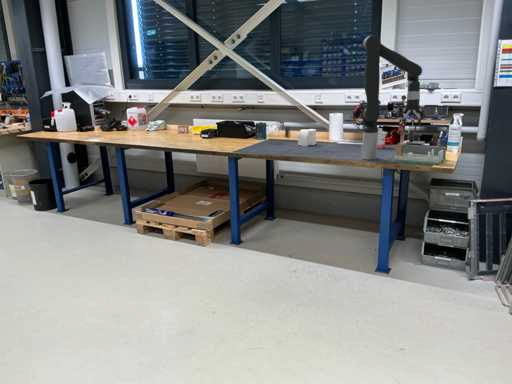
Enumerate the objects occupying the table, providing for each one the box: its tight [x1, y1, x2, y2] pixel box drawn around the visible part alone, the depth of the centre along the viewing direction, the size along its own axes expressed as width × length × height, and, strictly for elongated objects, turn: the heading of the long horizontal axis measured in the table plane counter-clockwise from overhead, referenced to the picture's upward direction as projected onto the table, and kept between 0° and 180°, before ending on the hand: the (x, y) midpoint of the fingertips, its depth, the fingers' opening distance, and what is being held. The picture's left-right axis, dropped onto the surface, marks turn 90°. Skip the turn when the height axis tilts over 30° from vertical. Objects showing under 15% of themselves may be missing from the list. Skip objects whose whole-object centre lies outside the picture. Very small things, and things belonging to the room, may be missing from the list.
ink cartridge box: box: [377, 127, 386, 149], centre depth 300 cm, size 9×5×15 cm, turn 47°
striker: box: [395, 129, 425, 156], centre depth 256 cm, size 13×15×16 cm
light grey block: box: [297, 128, 317, 147], centre depth 323 cm, size 11×11×12 cm
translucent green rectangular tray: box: [393, 144, 447, 166], centre depth 253 cm, size 26×19×8 cm
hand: (411, 124), depth 258 cm, fingers open, 8 cm apart
